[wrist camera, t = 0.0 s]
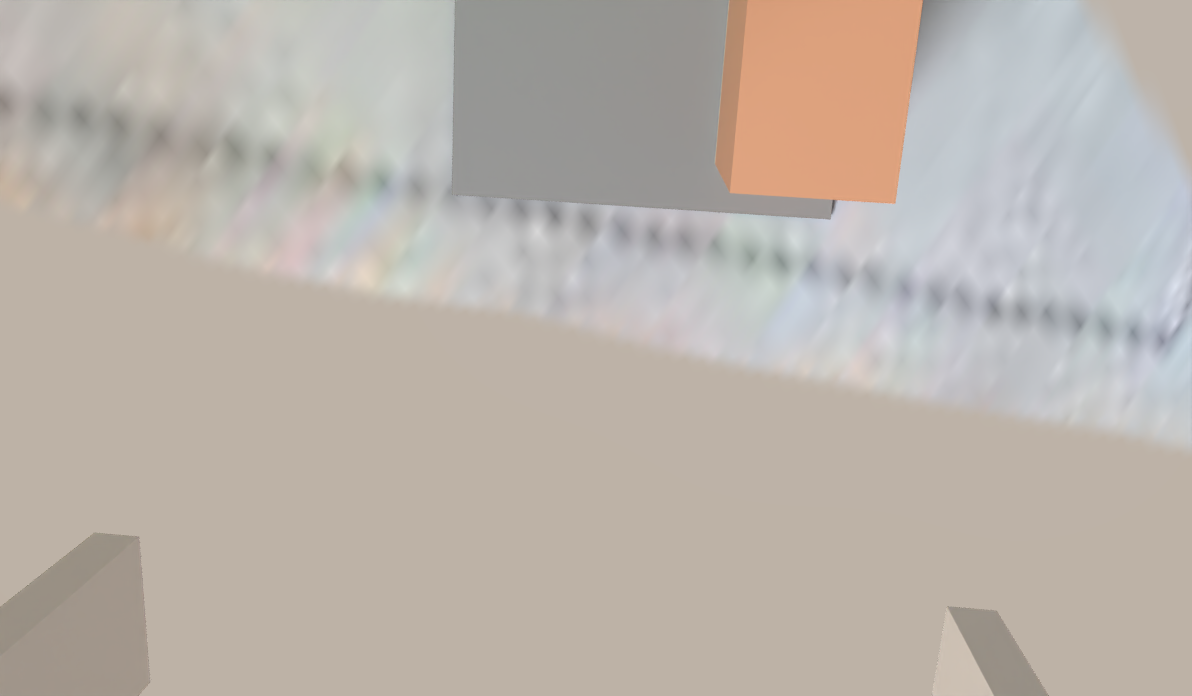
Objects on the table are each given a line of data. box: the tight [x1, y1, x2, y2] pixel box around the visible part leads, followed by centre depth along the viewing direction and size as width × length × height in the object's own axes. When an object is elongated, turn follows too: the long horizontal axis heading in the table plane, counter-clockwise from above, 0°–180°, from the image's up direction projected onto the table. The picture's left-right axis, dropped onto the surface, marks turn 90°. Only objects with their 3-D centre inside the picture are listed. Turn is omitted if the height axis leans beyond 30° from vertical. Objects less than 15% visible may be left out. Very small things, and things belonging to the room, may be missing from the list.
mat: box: [452, 0, 833, 219], centre depth 40 cm, size 11×16×1 cm
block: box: [715, 0, 923, 204], centre depth 34 cm, size 7×5×11 cm
